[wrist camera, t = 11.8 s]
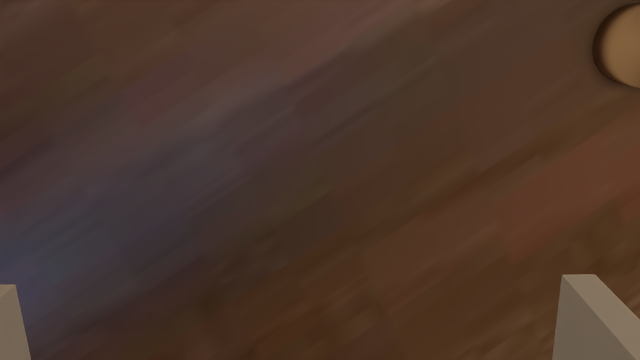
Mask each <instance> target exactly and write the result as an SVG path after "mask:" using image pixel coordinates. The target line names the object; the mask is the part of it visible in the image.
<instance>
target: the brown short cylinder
mask: <svg viewBox="0 0 640 360" xmlns="http://www.w3.org/2000/svg"><path fill="white" fill-rule="evenodd" d="M592 49H593V58H594V61H595V64H596V66H597V68H598V69H599V71H600V72H601V73H602V74H603V75H604V76H605V77H607V78H608V79H610V80H612V81H615V82H618V83H622V84H626V85H630V86H634V87H637V88H640V3H639V4H630V5H626V6H623V7H621V8H619V9H617V10H615V11H614V12H612V13H611V14H610V15H609V16H608V17H607V18H606V19H605V20H604V21H603V22H602V23H601V25H600V26H599V28H598V30H597V32H596V34H595V37H594V41H593V48H592Z"/></svg>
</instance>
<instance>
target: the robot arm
mask: <svg viewBox="0 0 640 360" xmlns="http://www.w3.org/2000/svg"><path fill="white" fill-rule="evenodd" d="M0 360H31V357H30V352H29V348H28V343H27V338H26V333H25V328H24V324H23V319H22V314H21V309H20V305H19V300H18V295H17V290H16V286H15V285H0ZM552 360H640V320H639V319H638V318H637V317H636V316H635V315H634V314H633V313H632V312H631V311H630V309H629V308H628V307H627V306H626V305H625V304H624V303H623V302H622V301H621V300H620V299H619V298H618V297H617V296H616V295H615V294H614V293H613V292H612V291H611V290H610V289H609V288H608V287H607V286H606V285H605V284H604V283H603V282H602V281H601V280H600V279H599V278H598V277H597V276H596V275H595V274H580V275H562V280H561V288H560V297H559V306H558V314H557V323H556V332H555V340H554V349H553V358H552Z"/></svg>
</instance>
